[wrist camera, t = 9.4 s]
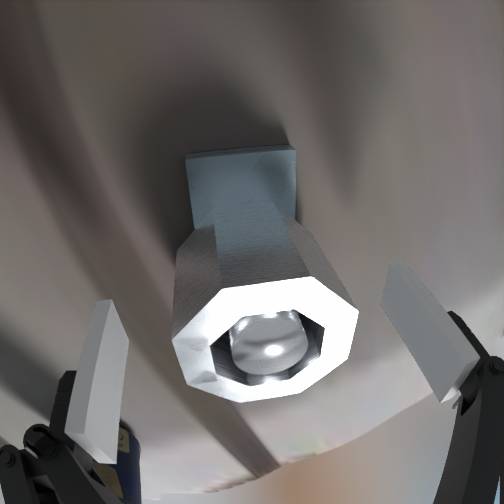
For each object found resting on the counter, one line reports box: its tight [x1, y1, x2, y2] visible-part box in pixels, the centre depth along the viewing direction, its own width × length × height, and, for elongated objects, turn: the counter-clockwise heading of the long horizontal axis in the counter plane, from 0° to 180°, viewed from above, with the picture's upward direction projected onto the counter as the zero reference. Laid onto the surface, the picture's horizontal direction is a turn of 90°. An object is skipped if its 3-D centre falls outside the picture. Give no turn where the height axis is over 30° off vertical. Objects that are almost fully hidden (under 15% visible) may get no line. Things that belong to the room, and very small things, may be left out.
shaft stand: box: [185, 145, 308, 374], centre depth 15 cm, size 5×12×7 cm, turn 2°
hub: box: [172, 202, 358, 403], centre depth 15 cm, size 7×7×6 cm
